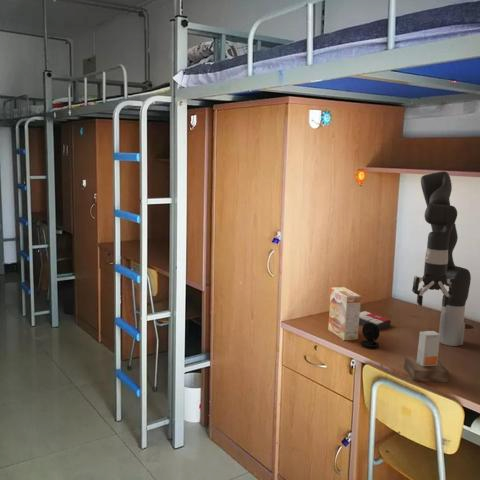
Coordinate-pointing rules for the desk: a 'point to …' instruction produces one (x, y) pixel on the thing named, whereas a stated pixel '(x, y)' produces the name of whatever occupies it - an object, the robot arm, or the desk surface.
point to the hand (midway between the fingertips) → (431, 305)
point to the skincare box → (428, 348)
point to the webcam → (370, 335)
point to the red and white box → (373, 320)
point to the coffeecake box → (344, 313)
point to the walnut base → (425, 371)
